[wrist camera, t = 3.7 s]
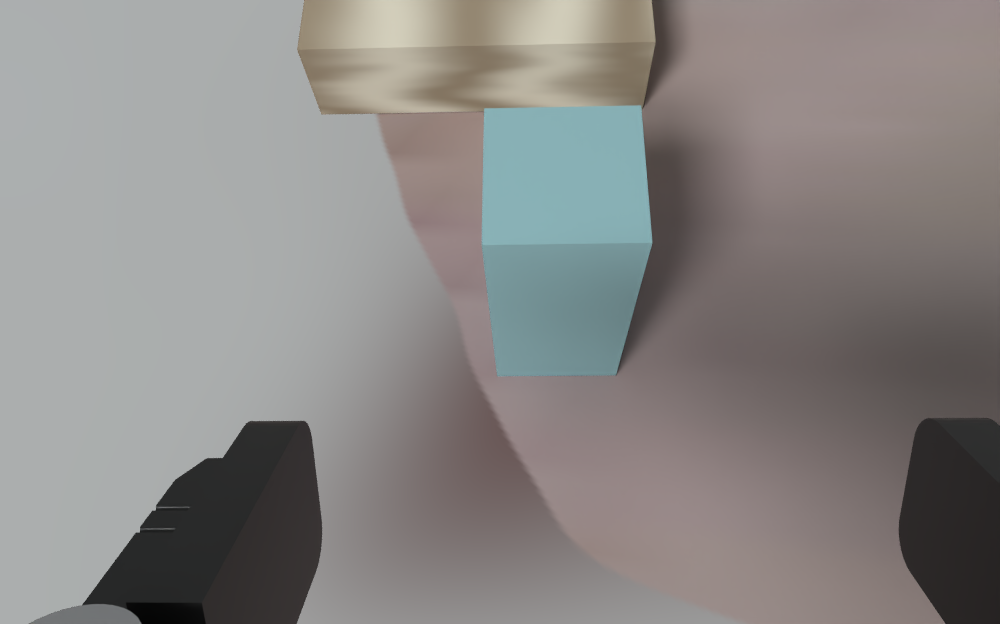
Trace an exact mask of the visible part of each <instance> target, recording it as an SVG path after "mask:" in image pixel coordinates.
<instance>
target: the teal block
mask: <svg viewBox="0 0 1000 624" xmlns="http://www.w3.org/2000/svg"><path fill="white" fill-rule="evenodd" d="M651 246H652V232H651V220H650V208H649V196H648V184H647V171H646V159H645V147H644V135H643V123H642V111H641V105H636V106H583V107H531V108H484V149H483V205H482V251H483V259H484V268H485V276H486V285H487V293H488V302H489V310H490V319H491V327H492V335H493V344H494V352H495V361H496V369H497V376H594V375H616V373H617V370H618V366H619V362H620V359H621V355H622V351H623V348H624V344H625V341H626V337H627V333H628V330H629V326H630V322H631V319H632V315H633V311H634V308H635V304H636V301H637V297H638V293H639V290H640V286H641V282H642V279H643V275H644V272H645V268H646V264H647V261H648V257H649V253H650V250H651Z"/></svg>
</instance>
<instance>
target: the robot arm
mask: <svg viewBox="0 0 1000 624" xmlns="http://www.w3.org/2000/svg"><path fill="white" fill-rule="evenodd" d="M899 539H900V546H901V551H902V554H903V557H904V560H905V563H906V565H907V567H908V569H909V571H910V572H911V574H912V575H913V577H914V578H915V580H916V581H917V583H918V584H919V586H920V587H921V588H922V590H923V591H924V593H925V594H926V596H927V597H928V599H929V600H930V602H931V603H932V605H933V606H934V607H935V609H936V610H937V612H938V613H939V615H940V616H941V618H942V619H943V621H944V622H945V624H1000V426H999V425H998V424H997V423H996V422H994V421H993V420H991V419H989V418H928V419H925V420H923V421H922V422H921V423H920V424H919V426H918V428H917V430H916V433H915V437H914V441H913V447H912V453H911V458H910V464H909V469H908V475H907V480H906V486H905V491H904V497H903V503H902V508H901V514H900V520H899ZM321 543H322V520H321V511H320V502H319V494H318V487H317V478H316V469H315V460H314V452H313V444H312V436H311V432H310V428H309V426H308V424H307V423H306V422H305V421H250V422H248V423H246V425H245V426H244V427H243V429H242V430H241V432H240V433H239V435H238V436H237V438H236V439H235V441H234V442H233V444H232V445H231V447H230V448H229V450H228V451H227V453H226V454H225V456H224V457H223V458H207V459H205V460H204V461H202V462H201V463H199V464H198V465H196V466H195V467H193V468H192V469H191V470H189V471H188V472H186V473H185V474H183V475H182V476H180V477H179V478H177V479H176V480H175V481H174V482H173V484H172V485H171V486H170V488H169V489H168V490H167V492H166V493H165V494H164V496H163V497H162V499H161V500H160V501H159V502H158V504H157V505H156V511H152V512H151V513H150V515H149V516H148V517H147V519H146V520H145V521H144V523H143V524H142V525H141V527H140V533H135V535H134V536H133V538H132V539H131V540H130V541H129V543H128V544H127V546H126V547H125V548H124V549H123V551H122V552H121V554H120V555H119V557H118V558H117V559H116V560H115V562H114V563H113V564H112V566H111V567H110V568H109V570H108V571H107V572H106V574H105V575H104V576H103V578H102V579H101V580H100V582H99V583H98V584H97V586H96V587H95V589H94V590H93V591H92V593H91V594H90V595H89V597H88V598H87V600H86V601H85V602H84V603H83V605H82V606H76V607H71V608H67V609H63V610H60V611H57V612H54V613H51V614H49V615H47V616H44V617H42V618H40V619H37V620H35V621H33V622H31V623H29V624H297V621H298V618H299V615H300V613H301V610H302V608H303V605H304V602H305V599H306V597H307V594H308V591H309V589H310V586H311V583H312V581H313V578H314V575H315V573H316V569H317V566H318V563H319V558H320V552H321Z"/></svg>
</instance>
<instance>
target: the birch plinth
mask: <svg viewBox="0 0 1000 624" xmlns="http://www.w3.org/2000/svg"><path fill="white" fill-rule="evenodd" d="M655 43H656V40H655V30H654V19H653V9H652V0H304V6H303V13H302V20H301V27H300V34H299V41H298V48H297V50H298V53H299V56H300V58H301V61H302V64H303V66H304V69H305V71H306V74H307V77H308V79H309V82H310V85H311V88H312V90H313V93H314V96H315V98H316V101H317V104H318V106H319V109H320V111H321V114H369V113H370V114H372V113H425V112H478V111H484V108H531V107H583V106H636V105H641V108H643V105H644V99H645V94H646V89H647V84H648V79H649V74H650V68H651V63H652V58H653V53H654V48H655Z"/></svg>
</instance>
